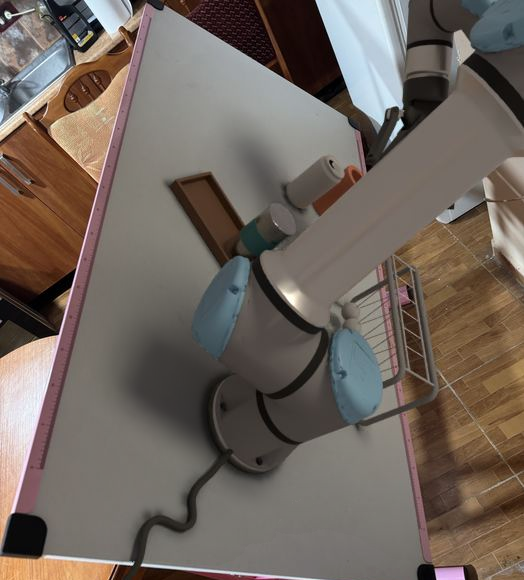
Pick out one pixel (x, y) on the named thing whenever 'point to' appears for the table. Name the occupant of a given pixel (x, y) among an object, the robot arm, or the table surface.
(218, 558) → the table surface
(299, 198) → the beverage can
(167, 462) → the table surface
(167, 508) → the table surface
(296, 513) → the table surface
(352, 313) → the newton's cradle
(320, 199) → the jar
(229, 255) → the tray can
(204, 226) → the can tray
